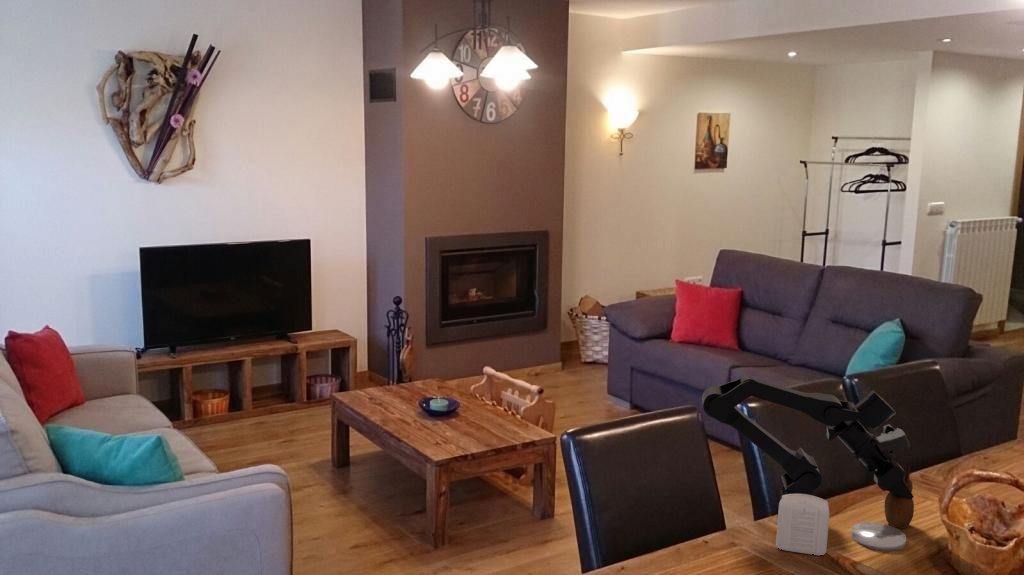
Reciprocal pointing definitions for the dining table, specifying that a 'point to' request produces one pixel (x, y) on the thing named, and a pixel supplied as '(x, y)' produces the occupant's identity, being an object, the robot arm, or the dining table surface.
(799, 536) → the white upright block
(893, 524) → the wooden figurine
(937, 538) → the dining table surface
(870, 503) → the dining table surface
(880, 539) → the plate
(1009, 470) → the dining table surface
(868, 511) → the dining table surface
